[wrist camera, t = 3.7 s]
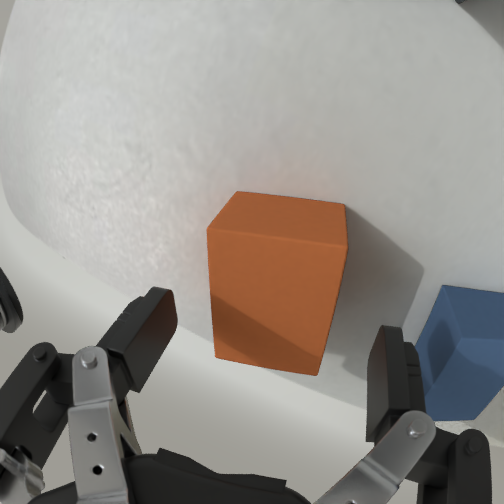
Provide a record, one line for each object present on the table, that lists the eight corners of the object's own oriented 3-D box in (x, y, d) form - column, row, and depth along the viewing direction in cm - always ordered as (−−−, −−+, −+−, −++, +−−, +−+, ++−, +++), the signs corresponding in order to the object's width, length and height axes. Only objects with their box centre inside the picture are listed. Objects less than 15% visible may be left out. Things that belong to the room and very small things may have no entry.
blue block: (401, 370, 18) (406, 421, 15) (442, 284, 14) (462, 337, 11) (463, 373, 17) (474, 420, 14) (510, 293, 14) (535, 341, 10)
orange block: (236, 307, 18) (214, 358, 15) (236, 190, 15) (205, 228, 11) (323, 321, 17) (317, 376, 14) (345, 203, 14) (349, 247, 10)
